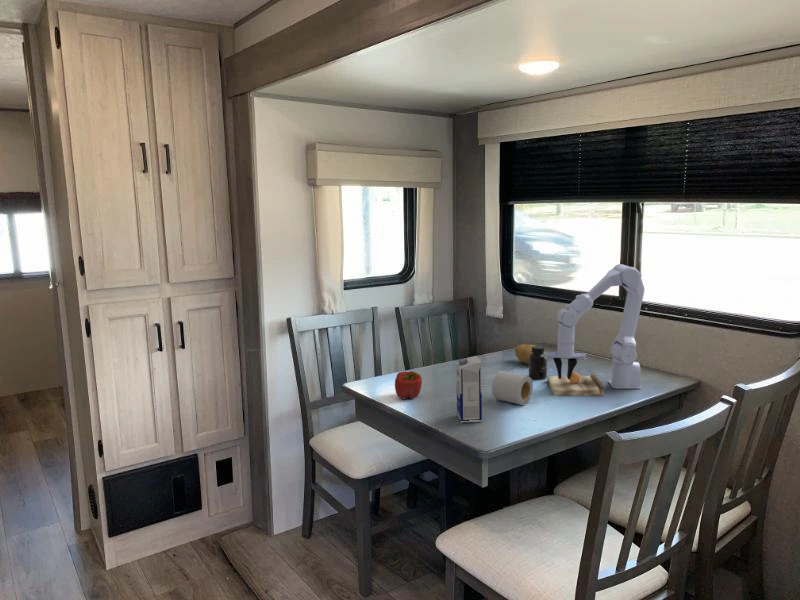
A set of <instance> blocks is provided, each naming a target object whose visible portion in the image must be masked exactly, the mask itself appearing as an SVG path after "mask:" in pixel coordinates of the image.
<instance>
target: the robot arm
mask: <svg viewBox="0 0 800 600" xmlns="http://www.w3.org/2000/svg"><path fill="white" fill-rule="evenodd" d="M642 276H643V275H642V273H641V272H640V271H639V269H637V268H636V267H634V266H629V265H625V264H624V263H623V264H622V263H620V264H616V265H615V266H613V268H612V269H610V270H608V272H607V273H606V274H605V275H604V276H603V277H602V278H601V279H600V280H599V281H598V282H597V283H596V284H595V285H594V286H593V287H592V288H591V289H590V290H589V291H587V293H580V294H577V295H576V296H575V299H574V300H573V301H571V302H570V303H569V304H566V305H565V307H564V308H561V309H559V310H558V313H557V314H556V320H557V322H558V329H557V333H558V334H557V348H556V349H557V351H556V352H555V351H552V352H546V353H544V358H545V359H547V360H548V359H549V360H550V359H551V360H553V362H554V365H555V367H556V370H557V376H558V378H559V379H561V376H562V367H563V362H562V360H567V373H566V374H567V375H566V376H567V378H568V379H570V377H571V374H572V372H574V369H575V367H576V366H577V364H578V360H583V361H587V354H586V353H580V352H575V333H576V330H575V329H576V325H577V324H578V322H579V319H580V317H582V316H583V315H584V314H585V313H587V312H588V311H589V309H591V308H592V307H593V306H594V301H595V300H596V299H597V298H599V297H600V296H601V295H603V294H604V293H605V292H607V291H608V290H609V289H611V288H612V287H619V286H621V287H623V288H624V290H625V291H626V292H627V294H626V299H625V303H624V308H623V312H622V316H621V317H622V318H621V322H620V326H619V332H618V334H617V335H616V336H615V337H614V340H613V342H612V344H611V345H610V346H609V347H610V348H609V353H610V355H611V356H612V363H611V380H608V383H609V385H611V387H612V388H613V389H642V387H641V373H642V371H641V370H642V369H641V365H640V362H638V361H636V359H637V358H638V354H637V342H636V340H635V336H636V331H637V326H638V322H639V318H640V313H641V308H642V303H643V299H644V295H645V285H644V283H643V280H642Z"/></svg>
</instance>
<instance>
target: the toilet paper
mask: <svg viewBox="0 0 800 600" xmlns="http://www.w3.org/2000/svg"><path fill="white" fill-rule="evenodd" d="M533 386H534V385H533V381H532V378H530V377H529V375H525V374H520V373H514V372H508V371H505V370H504V371H503V370H499V371H498V372H497V373H496V374H495V376H494V377H493V380H492V384H491V392H492V393H491V394H492V396H493V398H494V399H495V400H497V401H503V402H507V403H511V404H515V405H521V406H525V404H526V405H527V404H528V403H529V402H530V399H531V397H532V394H533Z"/></svg>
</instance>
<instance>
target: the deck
mask: <svg viewBox="0 0 800 600" xmlns="http://www.w3.org/2000/svg"><path fill="white" fill-rule="evenodd" d="M579 376H580V380H579V382H577V383H572V382H570V381H569V379H568V378H567V375H561V379H559V378H558V375H555V376H554V375H550V376H549V375H547V383H548V386H549V387H550V389H551V392H552V394H553V396H562V397H563V396H564V397H567V396H568V397H569V396H578V397H579V396H580V397H581V396H584V397H586V396H587V397H588V396H590V397H591V396H592V397H593V396H594V397H595V396H603V397H604V396H605V386H604V385H603V383H602V382H601V381H600V379H599V378H598V376H597V375H596V374H595V373H594V372H591V373H590V375H579Z"/></svg>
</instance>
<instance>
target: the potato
mask: <svg viewBox="0 0 800 600" xmlns="http://www.w3.org/2000/svg"><path fill="white" fill-rule="evenodd" d="M533 346H536V345H535V344H526V343H525V344H523V343H522V344H519V345H517V346H516V347H515V350H514V351H515V357H516V358H517V359H518V361H520V362H522V363H524V364H527V365H529V355H530V354H531V353H532V347H533ZM544 353H547V352H546V351H545V352H544Z"/></svg>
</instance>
